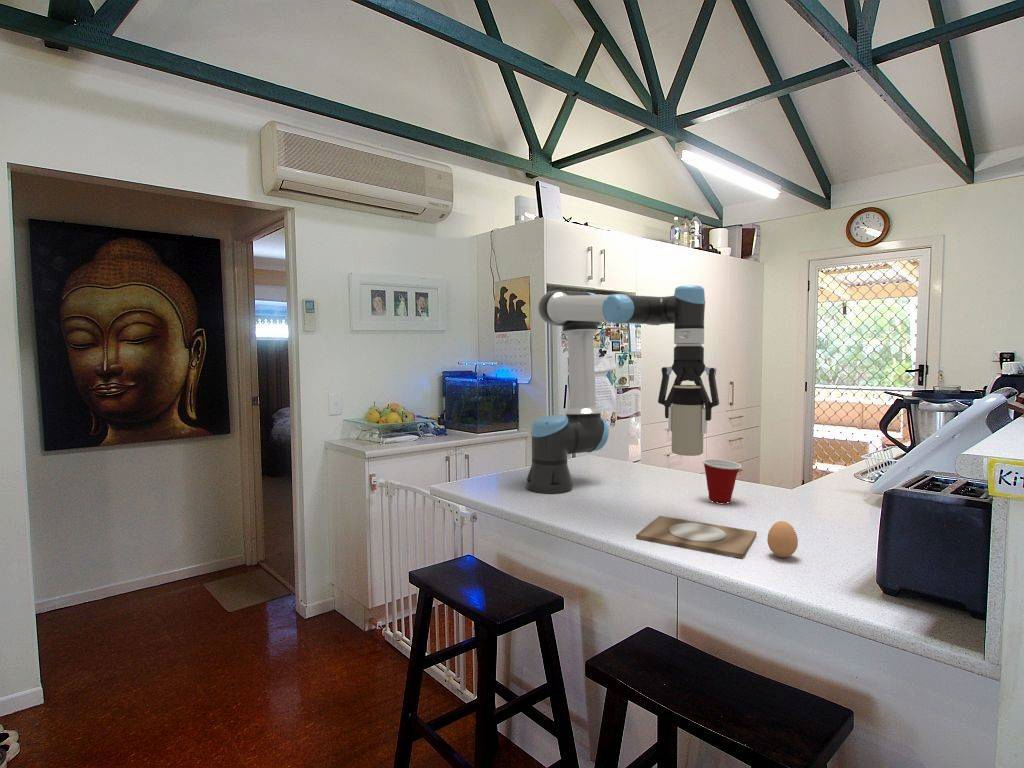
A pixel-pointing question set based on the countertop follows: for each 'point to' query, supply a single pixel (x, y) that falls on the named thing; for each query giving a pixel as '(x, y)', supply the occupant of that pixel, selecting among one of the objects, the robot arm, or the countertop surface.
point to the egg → (782, 539)
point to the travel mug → (687, 421)
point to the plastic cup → (720, 479)
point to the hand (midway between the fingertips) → (687, 431)
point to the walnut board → (698, 536)
